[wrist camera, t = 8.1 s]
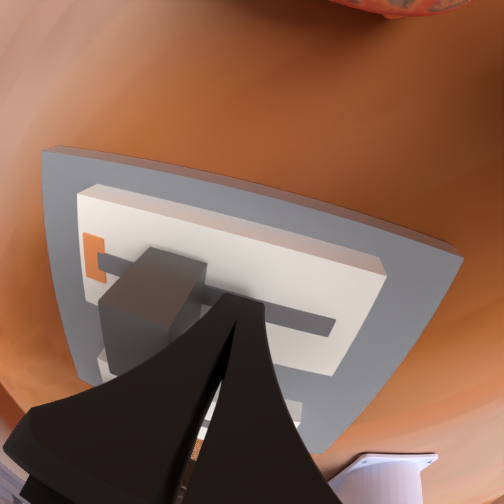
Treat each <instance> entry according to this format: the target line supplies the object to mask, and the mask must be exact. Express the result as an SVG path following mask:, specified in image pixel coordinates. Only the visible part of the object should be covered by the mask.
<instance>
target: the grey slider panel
mask: <svg viewBox="0 0 504 504" xmlns="http://www.w3.org/2000/svg"><path fill="white" fill-rule="evenodd" d="M41 166H42V196H43V210H44V222H45V231H46V240H47V247H48V255H49V261H50V267H51V273H52V279H53V284H54V289H55V294H56V299H57V303H58V308H59V312H60V316H61V320H62V324H63V328H64V332H65V335H66V339H67V342H68V346H69V349H70V352H71V356H72V359H73V362H74V365H75V368H76V371H77V374H78V377H79V379H81V380H83V381H84V382H86V383H88V384H90V385H92V386H94V387H96V386H98V385H100V384H103V383H105V382H107V381H110V380H112V379H114V378H116V377H118V376H115V375H113V374H111V373H110V371H109V366H108V362H107V357H106V351H105V346H104V341H103V335H102V329H101V322H100V315H99V308H98V300H99V299H100V298H101V297H102V296H103V295H104V294H105V293H106V291H107V290H108V289H109V288H110V287H111V286H112V285H113V284H114V283H115V282H116V281H117V280H118V279H119V278H120V277H121V276H122V275H123V273H124V272H125V271H126V270H127V269H128V268H129V267H130V266H131V265H132V264H133V263H134V262H135V261H136V260H137V259H138V258H139V257H140V256H141V255H142V254H143V253H144V252H145V251H146V250H147V249H148V248H149V247H153V248H157V249H160V250H163V251H167V252H170V253H174V254H177V255H181V256H184V257H188V258H191V259H195V260H198V261H202V262H205V263H208V265H207V272H206V278H205V285H204V292H203V298H202V305H201V312H200V318H202V317H203V316H204V315H205V314H206V313H207V312H208V311H209V310H210V309H211V308H212V307H213V305H214V304H215V303H216V302H217V301H218V300H219V299H220V297H221V296H222V295H223V294H225V293H230V294H234V295H237V296H241V297H244V298H248V299H252V300H255V301H259V302H263V304H264V305H265V323H266V332H267V338H268V344H269V348H270V353H271V358H272V362H273V366H274V370H275V373H276V376H277V380H278V383H279V386H280V389H281V392H282V395H283V398H284V400H285V403H286V406H287V408H288V411H289V413H290V415H291V418H292V420H293V422H294V424H295V427H296V429H297V431H298V433H299V435H300V436H301V438H302V440H303V442H304V444H305V446H306V448H307V450H308V452H309V453H315V454H322V453H323V452H324V451H325V450H326V449H327V448H328V447H329V446H330V445H331V444H332V443H333V442H334V441H335V440H336V439H337V438H338V437H339V436H340V435H341V434H342V433H343V432H344V431H345V430H346V429H347V428H348V427H349V426H350V424H351V423H352V422H353V421H354V420H355V419H356V418H357V417H358V416H359V415H360V413H361V412H362V411H363V410H364V409H365V408H366V406H367V405H368V404H369V403H370V402H371V401H372V399H373V398H374V397H375V396H376V395H377V393H378V392H379V391H380V390H381V388H382V387H383V386H384V385H385V383H386V382H387V381H388V380H389V378H390V377H391V376H392V374H393V373H394V372H395V370H396V369H397V368H398V366H399V365H400V364H401V362H402V361H403V360H404V358H405V357H406V355H407V354H408V353H409V351H410V350H411V348H412V347H413V345H414V344H415V342H416V341H417V339H418V338H419V336H420V335H421V333H422V332H423V330H424V329H425V327H426V326H427V324H428V323H429V321H430V319H431V318H432V316H433V315H434V313H435V311H436V310H437V308H438V306H439V305H440V303H441V301H442V299H443V298H444V296H445V294H446V292H447V291H448V289H449V287H450V285H451V283H452V282H453V280H454V278H455V276H456V274H457V272H458V270H459V268H460V266H461V264H462V262H463V260H464V257H463V256H462V255H461V254H460V253H459V251H458V250H457V249H456V248H455V247H454V245H452V244H449V243H447V242H444V241H441V240H439V239H436V238H433V237H430V236H428V235H425V234H422V233H419V232H417V231H414V230H411V229H408V228H405V227H402V226H399V225H396V224H393V223H390V222H387V221H384V220H381V219H378V218H375V217H372V216H369V215H366V214H363V213H360V212H356V211H353V210H350V209H347V208H343V207H340V206H337V205H333V204H330V203H327V202H323V201H320V200H316V199H313V198H309V197H306V196H302V195H299V194H295V193H291V192H288V191H284V190H280V189H276V188H272V187H269V186H265V185H261V184H257V183H253V182H249V181H245V180H241V179H237V178H232V177H228V176H224V175H219V174H215V173H211V172H206V171H202V170H197V169H192V168H188V167H183V166H178V165H173V164H168V163H163V162H158V161H153V160H148V159H142V158H137V157H131V156H125V155H119V154H113V153H107V152H101V151H94V150H88V149H81V148H74V147H66V146H55V147H52V148H49V149H46V150H42V153H41ZM221 381H222V380H221ZM220 386H221V383H220V385H219V387H218V389H217V392H216V394H215V396H214V399H213V401H212V403H211V405H210V408H209V410H208V412H207V414H206V417H205V419H204V421H203V423H202V426H201V429H200V431H199V434H198V437H197V438H198V439H201V440H204V438H205V435H206V432H207V429H208V426H209V423H210V420H211V417H212V414H213V411H214V408H215V405H216V403H217V400H218V396H219V391H220Z"/></svg>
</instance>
